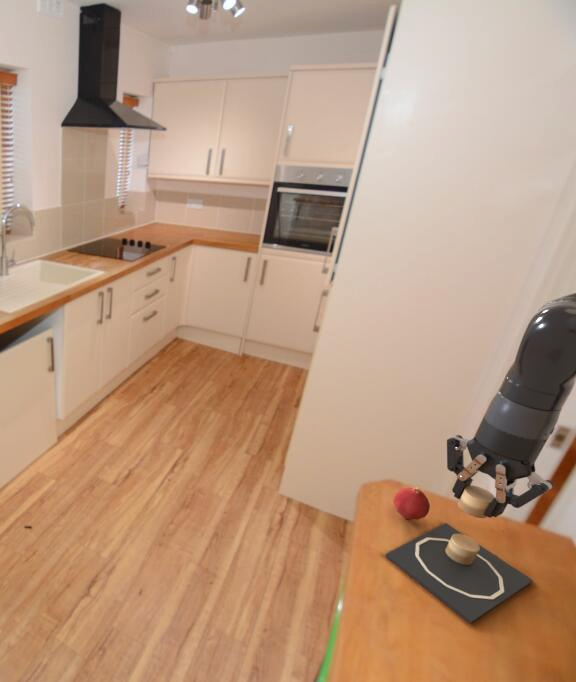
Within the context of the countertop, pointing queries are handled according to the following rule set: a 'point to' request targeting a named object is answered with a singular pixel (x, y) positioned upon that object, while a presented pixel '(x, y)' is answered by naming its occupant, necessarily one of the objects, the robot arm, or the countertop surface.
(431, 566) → the slate board
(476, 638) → the countertop surface
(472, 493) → the dot
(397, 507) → the onion
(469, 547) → the dot
